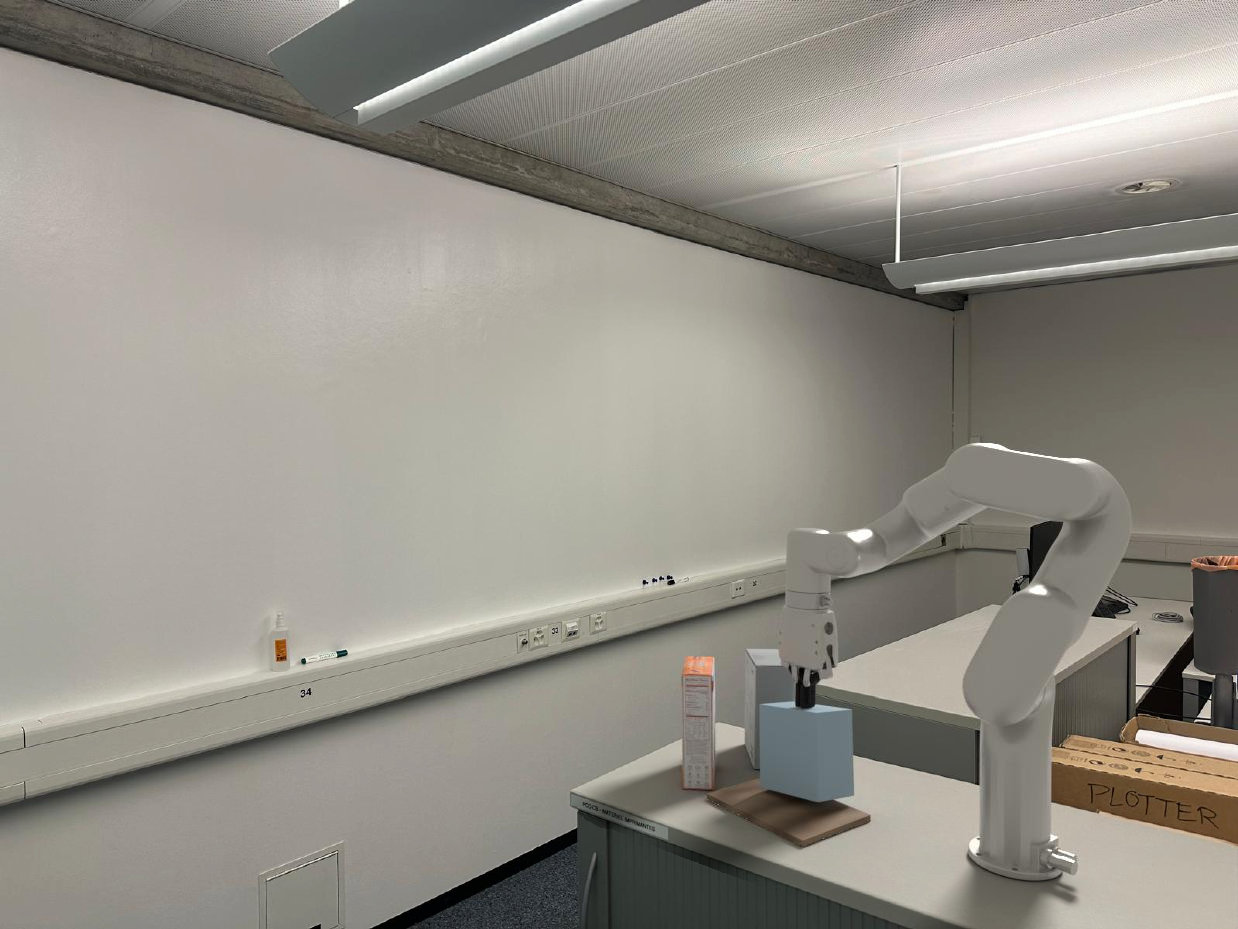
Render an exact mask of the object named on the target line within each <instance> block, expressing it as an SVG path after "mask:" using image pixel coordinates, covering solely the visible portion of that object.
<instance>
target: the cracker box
mask: <svg viewBox="0 0 1238 929" xmlns="http://www.w3.org/2000/svg"><path fill="white" fill-rule="evenodd" d="M715 669H716V668H715V657H714V656H697V655H688V656H685V660H684V664H683V669H682V673H681V743H682V744H681V747H682V748H681V749H682V750H681V751H682V752H681V753H682V755H681V756H682V758H681V759H682V763H681V764H682V789H683V790H695V791H698V790H700V791H701V790H702V791H714V790H715V777H716V776H715V775H716V773H715V772H716V675H715V674H716V673H715Z"/></svg>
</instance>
